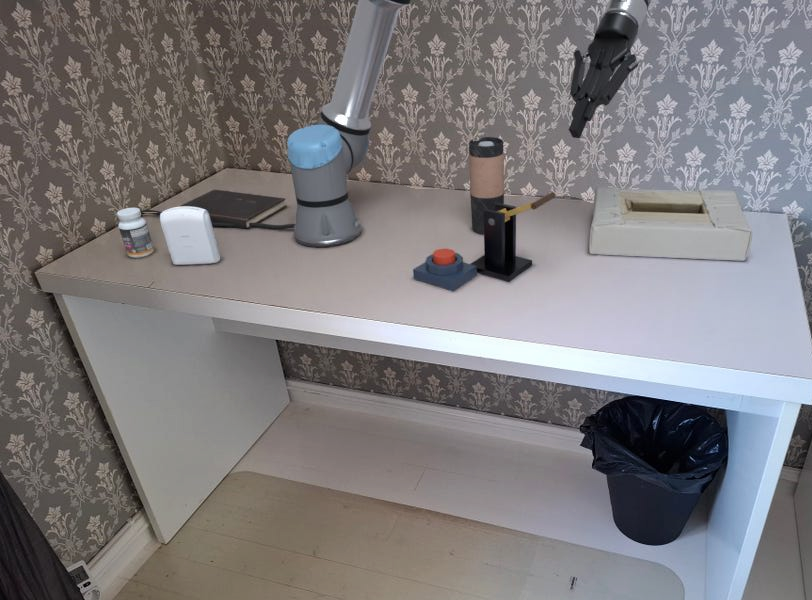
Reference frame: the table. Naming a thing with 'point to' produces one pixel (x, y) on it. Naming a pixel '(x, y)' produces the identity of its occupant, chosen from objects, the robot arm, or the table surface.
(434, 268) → the button box
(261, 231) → the table surface
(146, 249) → the pill bottle
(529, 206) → the tap lever
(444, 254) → the red button
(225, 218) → the hardcover book
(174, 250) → the photo printer
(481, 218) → the travel mug
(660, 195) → the box
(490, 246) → the tap bracket
